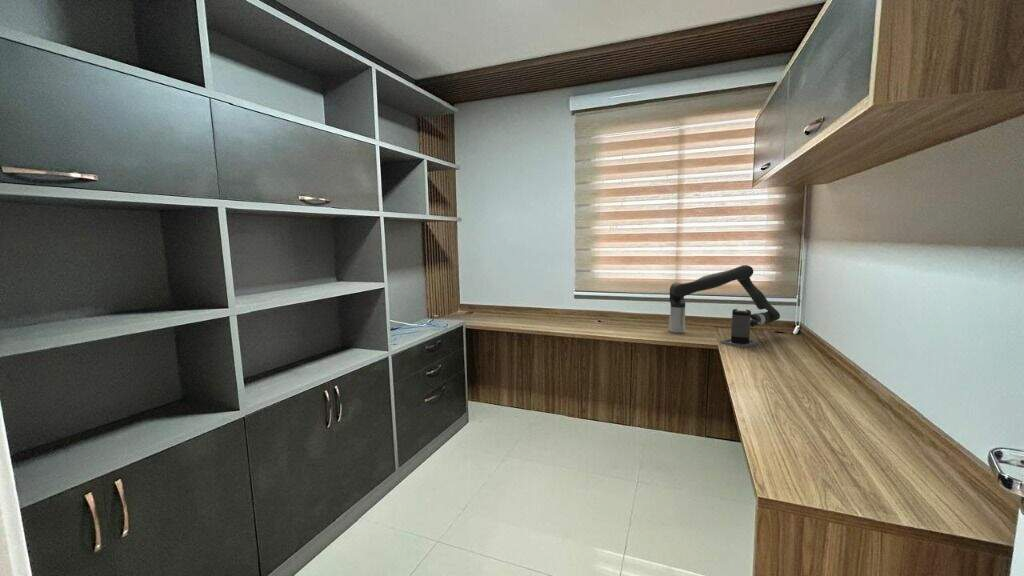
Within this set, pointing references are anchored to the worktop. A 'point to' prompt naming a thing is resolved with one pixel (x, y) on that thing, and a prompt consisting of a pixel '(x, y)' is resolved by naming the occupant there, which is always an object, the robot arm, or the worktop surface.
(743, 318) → the electronic device
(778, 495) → the worktop surface
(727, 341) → the charging dock
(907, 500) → the worktop surface
